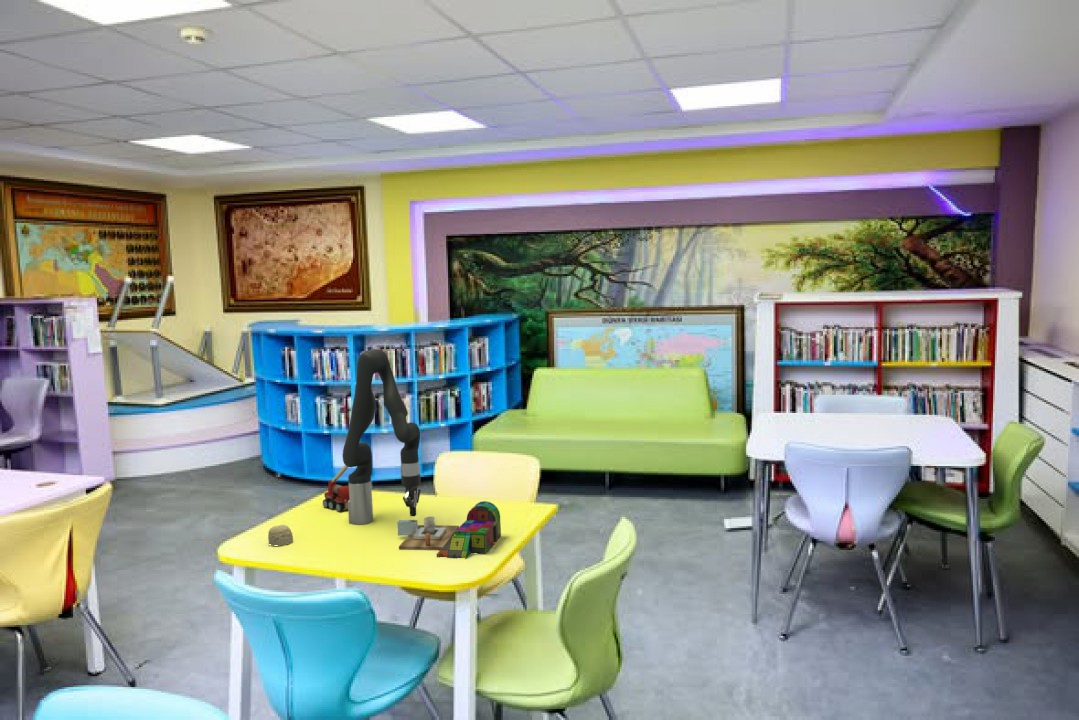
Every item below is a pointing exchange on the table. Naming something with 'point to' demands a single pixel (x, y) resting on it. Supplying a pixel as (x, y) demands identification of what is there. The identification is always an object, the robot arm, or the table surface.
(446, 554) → the toy block train
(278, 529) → the brown rock
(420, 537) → the flange plate
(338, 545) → the table surface
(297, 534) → the table surface
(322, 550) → the table surface
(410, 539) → the flange base
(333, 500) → the toy fire truck
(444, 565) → the table surface
